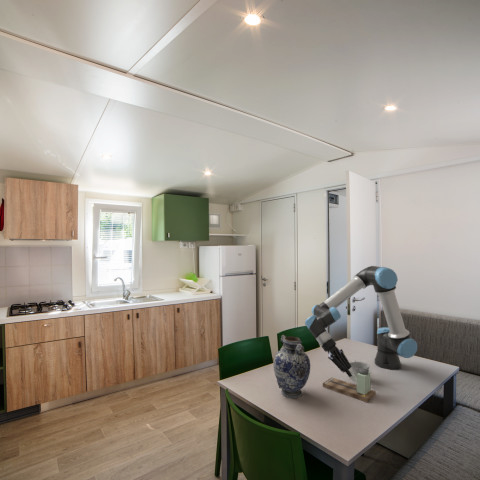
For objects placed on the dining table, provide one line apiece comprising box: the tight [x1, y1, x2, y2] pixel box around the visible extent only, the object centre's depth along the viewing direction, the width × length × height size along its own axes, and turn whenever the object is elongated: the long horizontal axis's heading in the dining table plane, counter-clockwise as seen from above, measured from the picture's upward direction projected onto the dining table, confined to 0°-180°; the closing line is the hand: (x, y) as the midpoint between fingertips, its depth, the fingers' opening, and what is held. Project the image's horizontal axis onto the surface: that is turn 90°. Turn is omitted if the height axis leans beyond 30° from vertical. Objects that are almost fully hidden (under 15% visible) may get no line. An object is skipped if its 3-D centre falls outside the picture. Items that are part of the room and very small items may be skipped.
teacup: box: [349, 360, 370, 377], centre depth 179 cm, size 14×11×8 cm
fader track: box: [322, 377, 377, 403], centre depth 163 cm, size 24×10×2 cm, turn 46°
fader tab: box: [356, 368, 372, 395], centre depth 157 cm, size 4×7×11 cm, turn 136°
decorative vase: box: [273, 334, 311, 399], centre depth 161 cm, size 21×19×28 cm
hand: (356, 381), depth 160 cm, fingers closed
